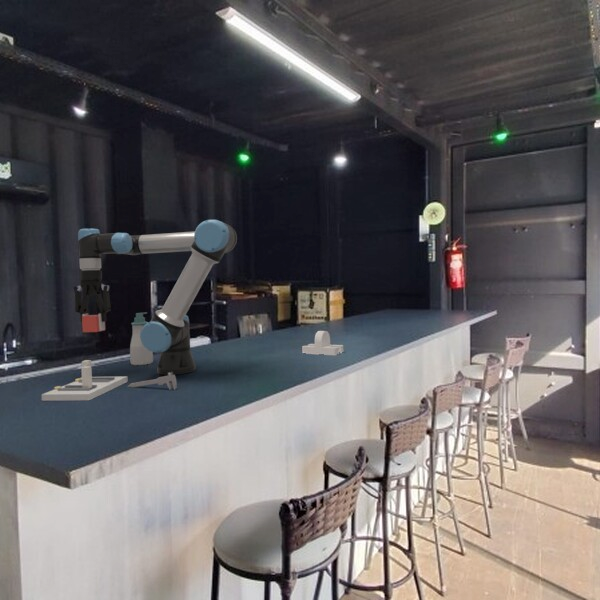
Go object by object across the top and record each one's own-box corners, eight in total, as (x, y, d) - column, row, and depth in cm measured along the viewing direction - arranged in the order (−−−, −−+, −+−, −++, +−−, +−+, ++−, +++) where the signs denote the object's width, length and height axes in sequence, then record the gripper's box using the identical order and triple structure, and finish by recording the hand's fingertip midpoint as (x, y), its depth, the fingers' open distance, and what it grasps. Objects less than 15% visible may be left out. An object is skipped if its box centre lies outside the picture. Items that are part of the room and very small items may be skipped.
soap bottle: (158, 362, 213) (155, 312, 212) (140, 366, 205) (137, 314, 204) (143, 361, 219) (141, 312, 217) (125, 364, 210) (123, 313, 209)
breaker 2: (92, 387, 157) (91, 366, 157) (88, 388, 155) (87, 367, 155) (86, 387, 158) (84, 366, 157) (82, 388, 155) (81, 367, 155)
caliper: (177, 390, 160) (176, 371, 160) (175, 390, 159) (174, 372, 159) (129, 386, 168) (128, 369, 167) (127, 387, 167) (126, 369, 166)
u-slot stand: (335, 356, 216) (335, 332, 216) (301, 354, 225) (300, 331, 224) (344, 352, 225) (343, 330, 224) (310, 350, 233) (310, 329, 233)
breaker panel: (127, 381, 175) (127, 374, 175) (89, 400, 149) (88, 391, 149) (86, 382, 177) (86, 374, 177) (41, 400, 151) (41, 392, 151)
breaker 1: (92, 379, 170) (90, 360, 170) (88, 380, 168) (87, 361, 168) (86, 379, 170) (85, 360, 170) (82, 380, 168) (81, 361, 168)
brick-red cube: (105, 330, 183) (104, 314, 183) (97, 332, 177) (96, 316, 177) (91, 330, 184) (90, 315, 183) (82, 332, 178) (81, 316, 178)
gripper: (119, 269, 182) (122, 328, 183) (73, 270, 184) (77, 329, 185) (108, 268, 174) (112, 331, 175) (61, 270, 177) (65, 332, 178)
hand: (94, 330), depth 180 cm, fingers closed on brick-red cube, 6 cm apart
